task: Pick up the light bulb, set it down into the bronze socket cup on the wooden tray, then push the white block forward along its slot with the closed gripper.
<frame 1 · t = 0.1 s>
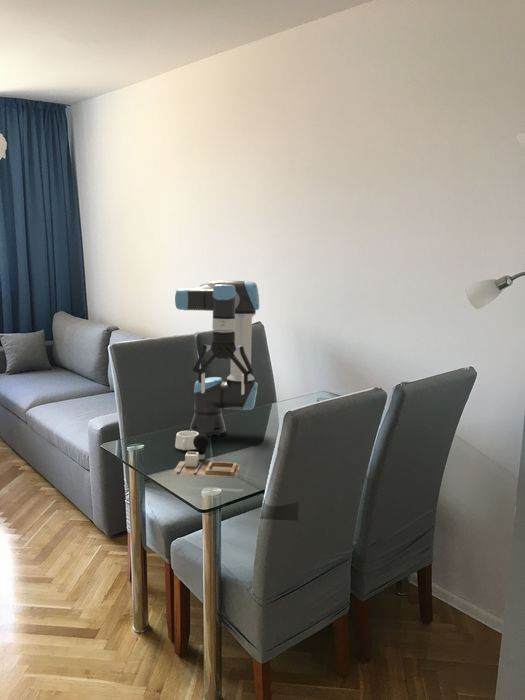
hand: (222, 393, 202), 28 cm above the table, fingers open, 13 cm apart
mug: (186, 449, 231), on the table
wooden tray: (207, 471, 207), on the table
white block: (191, 458, 210), point 3 cm above the table, slide at 0.0 cm
light bulb: (201, 461, 218), on the table
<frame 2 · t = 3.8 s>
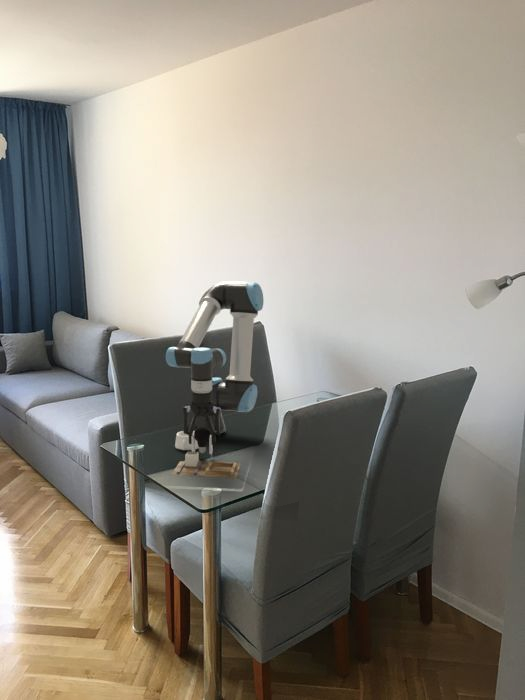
hand: (202, 452, 218), 3 cm above the table, fingers closed on light bulb, 6 cm apart
light bulb: (202, 453, 219), point 2 cm above the table, touching gripper
everything else where it was.
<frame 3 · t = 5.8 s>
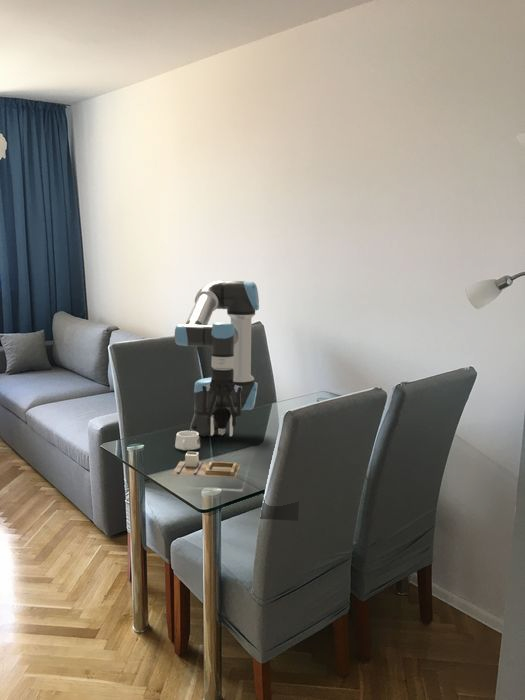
hand: (221, 434, 205), 13 cm above the table, fingers closed on light bulb, 6 cm apart
light bulb: (221, 435, 205), point 13 cm above the table, touching gripper
everything else where it was.
when the fingers open (3 cm above the table, at t = 7.8 s): light bulb drops 2 cm, resting on wooden tray.
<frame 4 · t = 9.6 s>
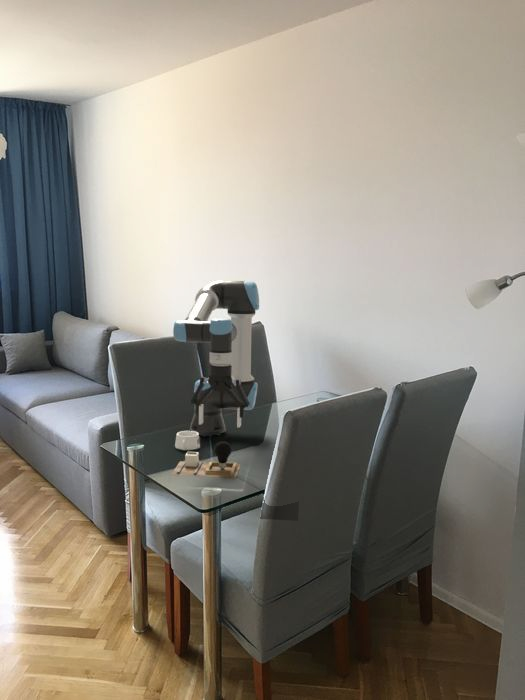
hand: (219, 425, 205), 16 cm above the table, fingers open, 13 cm apart
light bulb: (222, 469, 207), point 1 cm above the table, touching wooden tray
everything else where it was.
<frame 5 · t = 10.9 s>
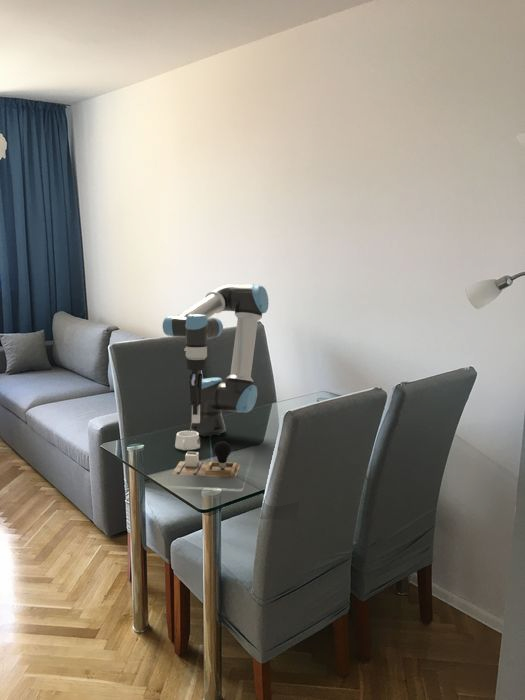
hand: (195, 422, 216), 14 cm above the table, fingers closed
nothing on the table moved.
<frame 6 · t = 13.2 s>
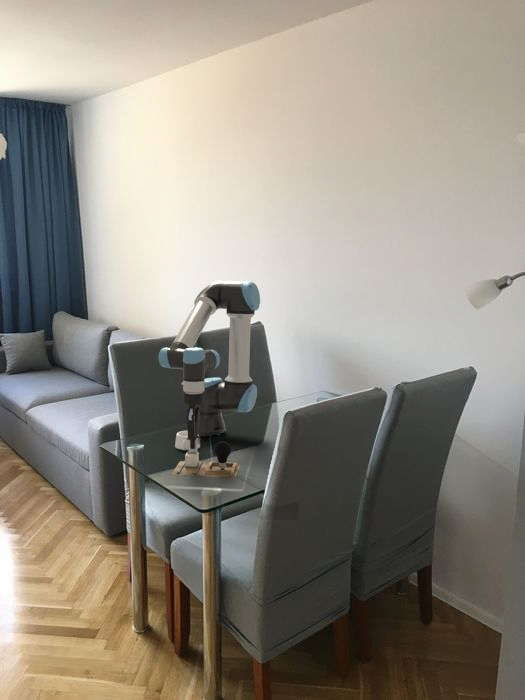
hand: (193, 456, 213), 3 cm above the table, fingers closed
white block: (191, 458, 210), point 3 cm above the table, slide at 0.0 cm, touching gripper
everything else where it was.
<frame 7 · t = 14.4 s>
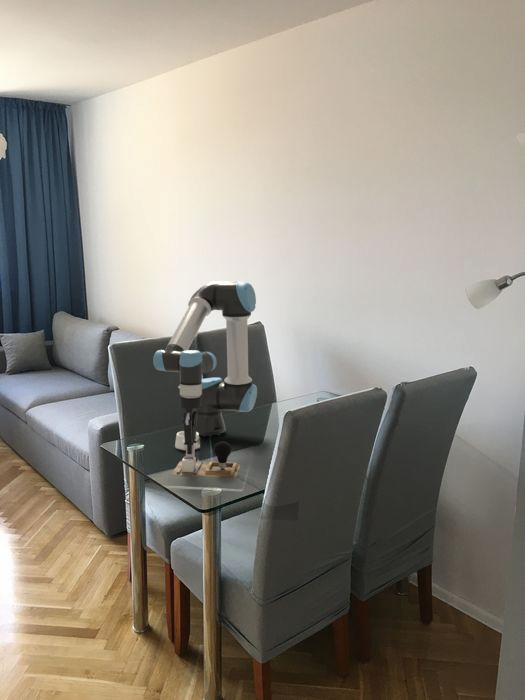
hand: (190, 462, 208), 3 cm above the table, fingers closed
white block: (188, 463, 205), point 3 cm above the table, slide at 5.6 cm, touching gripper
everything else where it was.
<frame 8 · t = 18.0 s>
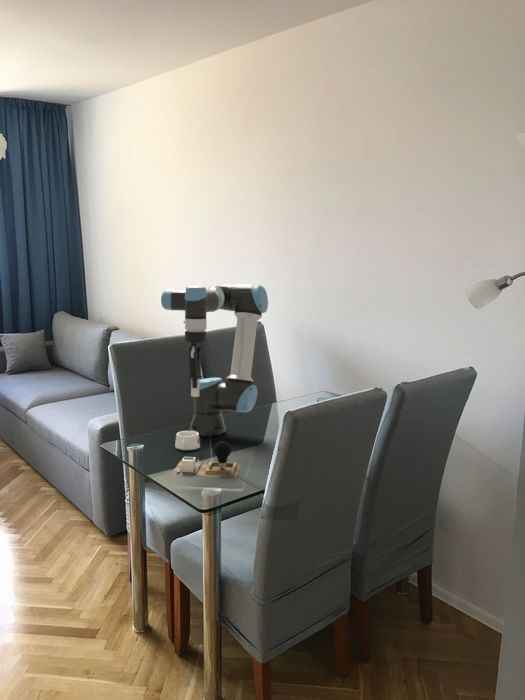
hand: (195, 396, 213), 24 cm above the table, fingers closed
white block: (188, 463, 205), point 3 cm above the table, slide at 5.7 cm
everything else where it was.
at the end: light bulb 0.4 cm from the target spot on the wooden tray, point 0.6 cm above the wooden tray's base; light bulb tilted 0°; white block slide at 5.7 cm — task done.
